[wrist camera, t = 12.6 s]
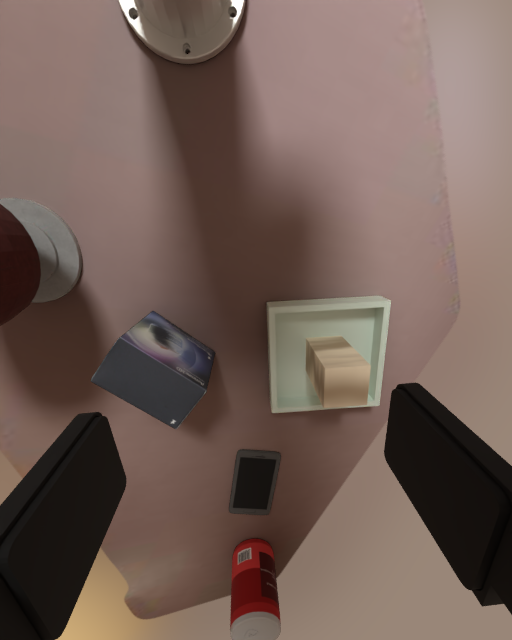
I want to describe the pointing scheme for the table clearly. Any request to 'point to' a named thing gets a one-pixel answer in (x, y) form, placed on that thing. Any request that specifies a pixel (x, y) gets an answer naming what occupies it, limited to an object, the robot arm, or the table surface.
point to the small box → (157, 369)
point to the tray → (321, 321)
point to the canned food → (254, 592)
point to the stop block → (337, 372)
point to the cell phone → (254, 482)
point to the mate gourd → (34, 256)
